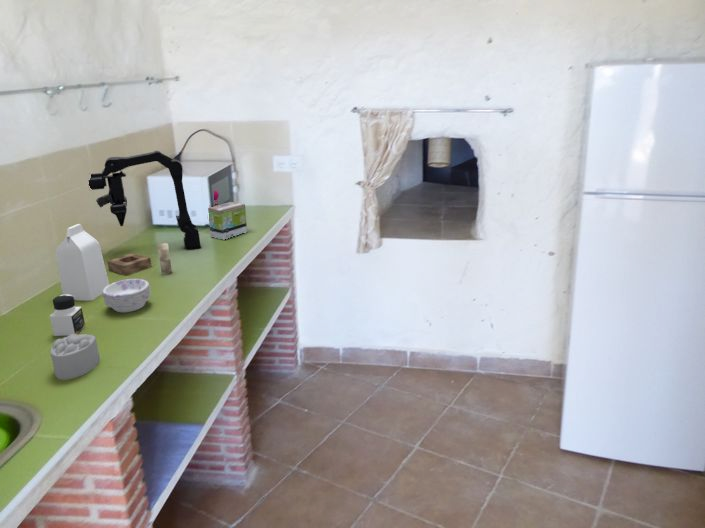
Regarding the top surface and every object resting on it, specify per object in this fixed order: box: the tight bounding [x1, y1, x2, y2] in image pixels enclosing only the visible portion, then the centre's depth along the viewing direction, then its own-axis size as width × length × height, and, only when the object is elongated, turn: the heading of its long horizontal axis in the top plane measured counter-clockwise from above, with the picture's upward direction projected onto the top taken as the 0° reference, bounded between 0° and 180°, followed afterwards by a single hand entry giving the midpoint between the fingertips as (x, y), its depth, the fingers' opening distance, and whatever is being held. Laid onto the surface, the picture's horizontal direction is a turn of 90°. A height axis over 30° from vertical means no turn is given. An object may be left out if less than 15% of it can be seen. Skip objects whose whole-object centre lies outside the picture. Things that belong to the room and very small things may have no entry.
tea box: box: [207, 201, 248, 241], centre depth 287 cm, size 15×10×15 cm, turn 143°
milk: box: [55, 223, 110, 302], centre depth 219 cm, size 12×12×26 cm
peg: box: [157, 242, 173, 276], centre depth 240 cm, size 4×4×12 cm
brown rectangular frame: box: [107, 252, 152, 276], centre depth 248 cm, size 12×12×4 cm
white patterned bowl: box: [102, 278, 152, 313], centre depth 208 cm, size 15×15×8 cm
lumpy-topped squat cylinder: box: [50, 333, 101, 381], centre depth 168 cm, size 10×13×9 cm
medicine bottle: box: [49, 294, 86, 337], centre depth 191 cm, size 7×7×12 cm
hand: (121, 223), depth 260 cm, fingers open, 9 cm apart
